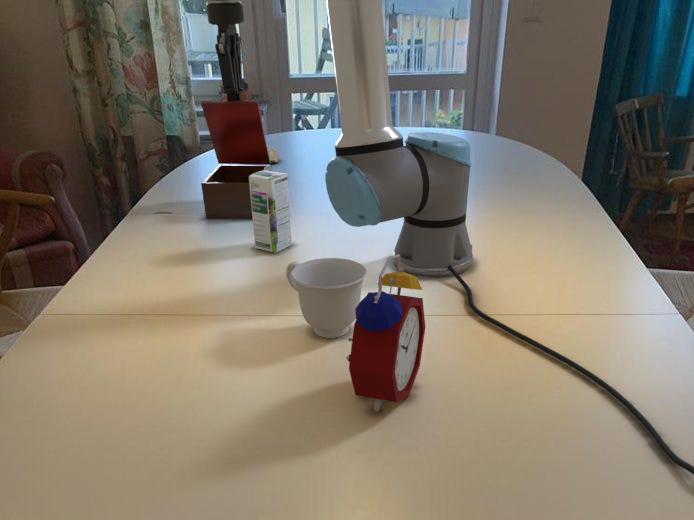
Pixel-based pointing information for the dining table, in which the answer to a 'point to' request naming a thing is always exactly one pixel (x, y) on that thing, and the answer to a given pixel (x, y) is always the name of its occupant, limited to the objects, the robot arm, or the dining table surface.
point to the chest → (229, 191)
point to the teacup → (328, 293)
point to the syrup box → (270, 210)
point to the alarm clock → (387, 339)
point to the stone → (273, 155)
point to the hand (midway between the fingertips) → (237, 124)
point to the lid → (236, 132)
